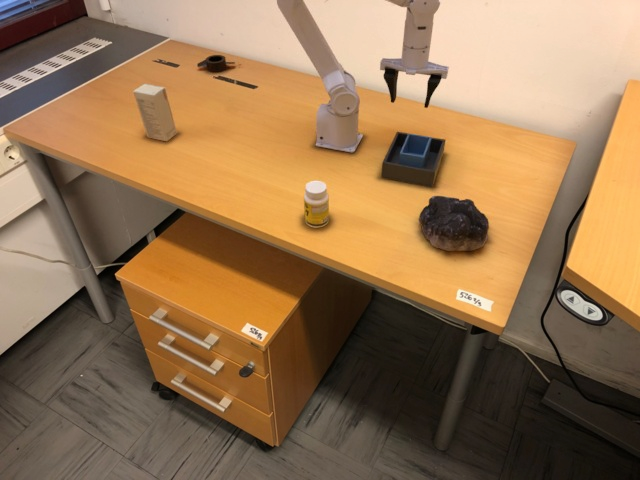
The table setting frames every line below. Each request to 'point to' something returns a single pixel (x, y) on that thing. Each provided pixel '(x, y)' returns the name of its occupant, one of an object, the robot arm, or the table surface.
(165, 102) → the cosmetic box
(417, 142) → the blue bin
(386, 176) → the charcoal bin
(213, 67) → the black ring with tabs
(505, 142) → the table surface
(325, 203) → the supplement bottle
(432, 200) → the crystal cluster
